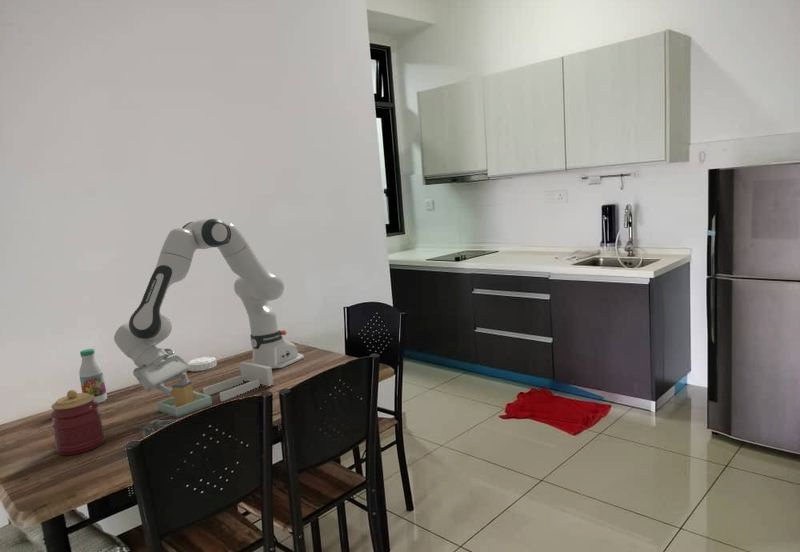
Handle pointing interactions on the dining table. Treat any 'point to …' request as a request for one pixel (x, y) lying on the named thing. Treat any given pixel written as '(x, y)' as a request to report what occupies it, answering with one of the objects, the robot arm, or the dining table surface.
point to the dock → (248, 373)
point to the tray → (170, 409)
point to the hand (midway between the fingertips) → (180, 388)
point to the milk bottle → (92, 376)
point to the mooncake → (202, 363)
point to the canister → (76, 423)
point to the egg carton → (154, 426)
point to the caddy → (183, 393)
